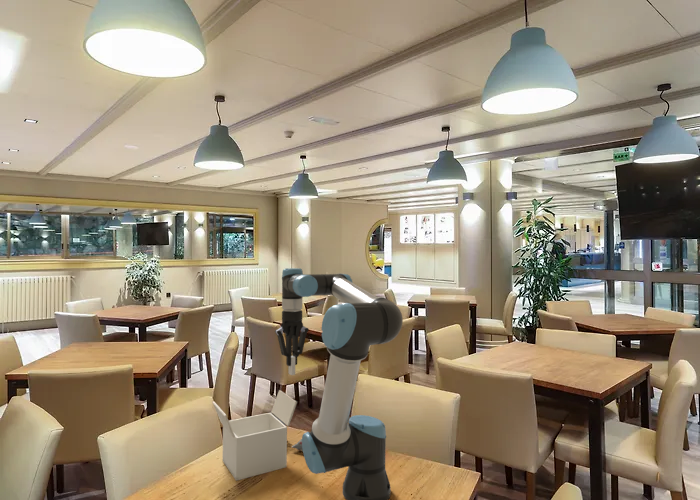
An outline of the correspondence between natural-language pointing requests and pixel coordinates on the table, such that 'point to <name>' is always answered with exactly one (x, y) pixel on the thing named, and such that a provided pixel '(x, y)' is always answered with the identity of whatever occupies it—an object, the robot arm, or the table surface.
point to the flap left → (223, 419)
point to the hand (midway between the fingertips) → (291, 374)
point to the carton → (255, 446)
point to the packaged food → (298, 445)
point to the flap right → (284, 407)
